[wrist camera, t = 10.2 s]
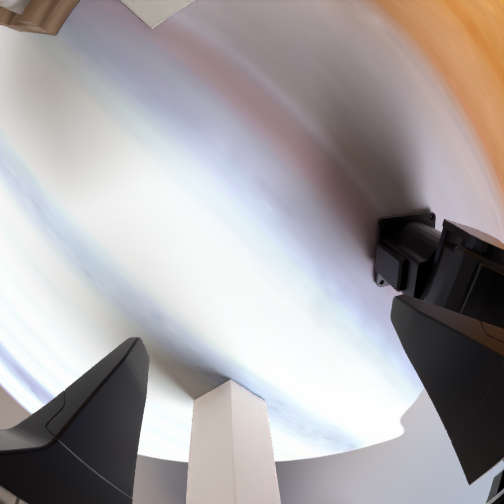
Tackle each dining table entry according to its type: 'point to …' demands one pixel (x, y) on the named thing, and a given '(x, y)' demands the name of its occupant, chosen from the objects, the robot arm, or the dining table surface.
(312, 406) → the dining table surface
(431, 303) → the robot arm
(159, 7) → the grey mat
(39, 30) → the white candle wooden holder
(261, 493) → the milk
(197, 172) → the dining table surface
